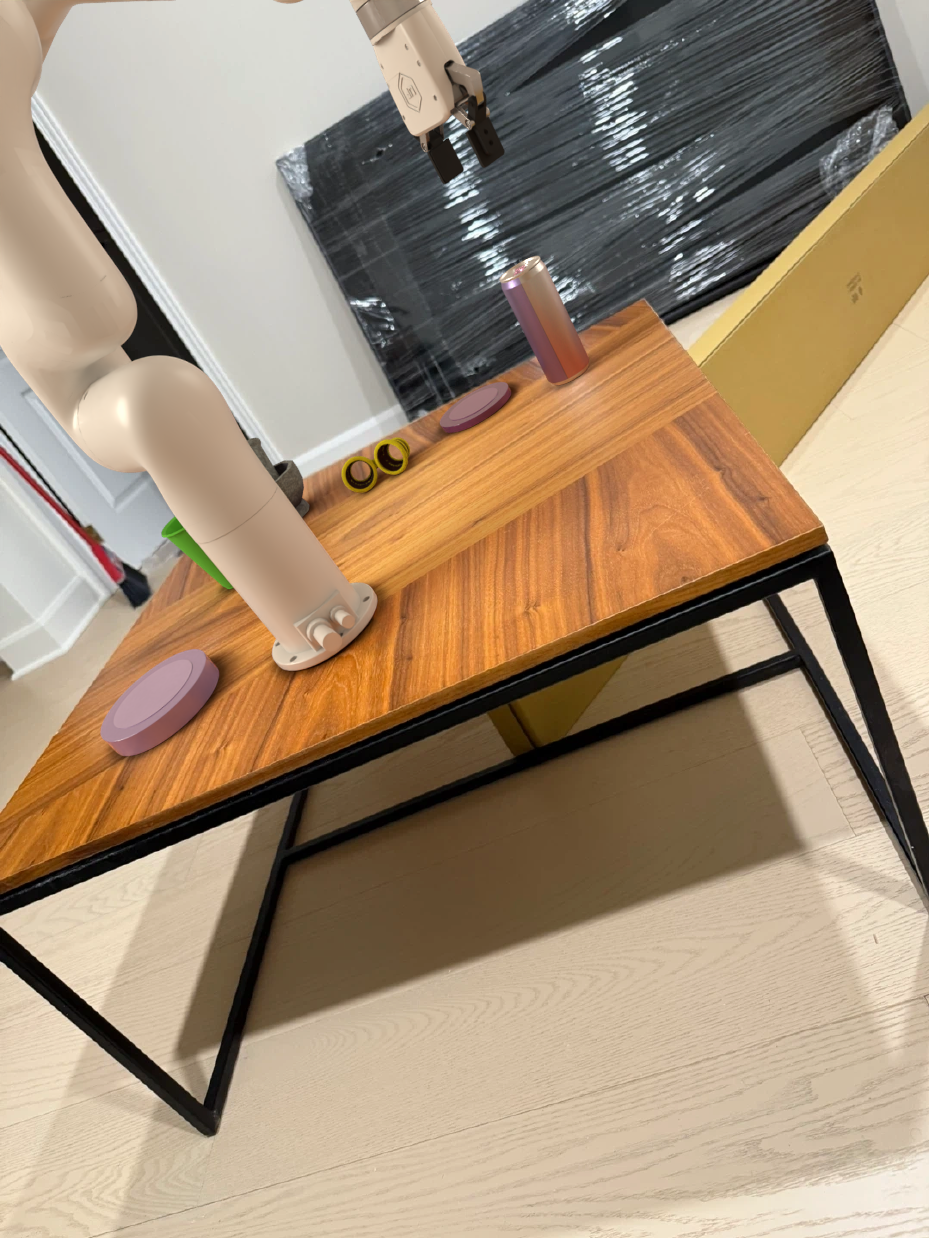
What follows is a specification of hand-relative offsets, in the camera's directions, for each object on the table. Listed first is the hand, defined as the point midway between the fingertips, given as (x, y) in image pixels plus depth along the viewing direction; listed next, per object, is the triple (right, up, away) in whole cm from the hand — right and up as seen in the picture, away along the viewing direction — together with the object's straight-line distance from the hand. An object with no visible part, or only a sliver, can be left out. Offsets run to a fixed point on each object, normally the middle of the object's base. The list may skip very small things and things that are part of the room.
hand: (473, 170), depth 97 cm
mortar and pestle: (-26, -37, +27) cm, 53 cm away
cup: (-32, -47, +18) cm, 59 cm away
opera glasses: (-12, -32, +20) cm, 40 cm away
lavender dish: (-34, -62, -3) cm, 71 cm away
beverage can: (+13, -20, +13) cm, 27 cm away
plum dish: (+1, -23, +21) cm, 31 cm away
